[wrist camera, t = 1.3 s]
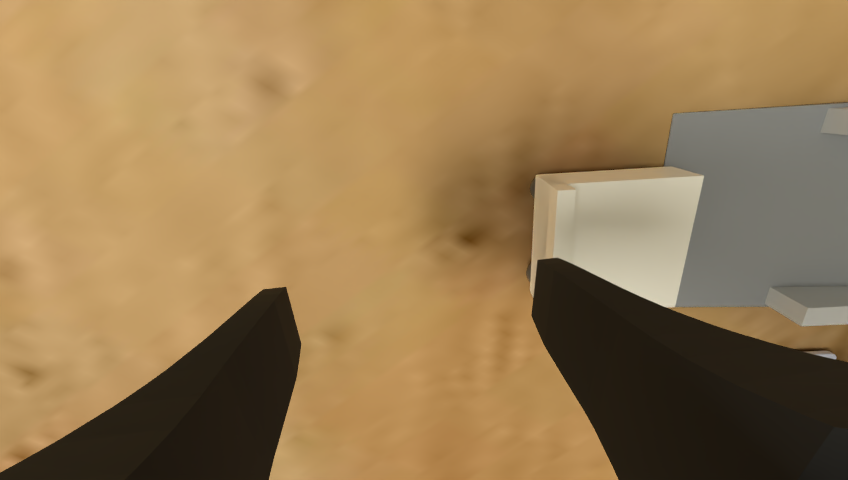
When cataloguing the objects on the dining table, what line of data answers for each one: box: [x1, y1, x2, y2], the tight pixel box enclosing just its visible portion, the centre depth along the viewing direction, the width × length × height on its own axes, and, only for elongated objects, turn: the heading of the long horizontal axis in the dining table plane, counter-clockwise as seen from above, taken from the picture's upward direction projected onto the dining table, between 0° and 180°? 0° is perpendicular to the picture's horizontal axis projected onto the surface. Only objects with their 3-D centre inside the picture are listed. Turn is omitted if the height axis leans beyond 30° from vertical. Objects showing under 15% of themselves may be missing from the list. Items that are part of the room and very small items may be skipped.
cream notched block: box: [526, 166, 704, 307], centre depth 19 cm, size 7×7×5 cm
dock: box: [664, 102, 848, 326], centre depth 20 cm, size 12×18×5 cm
